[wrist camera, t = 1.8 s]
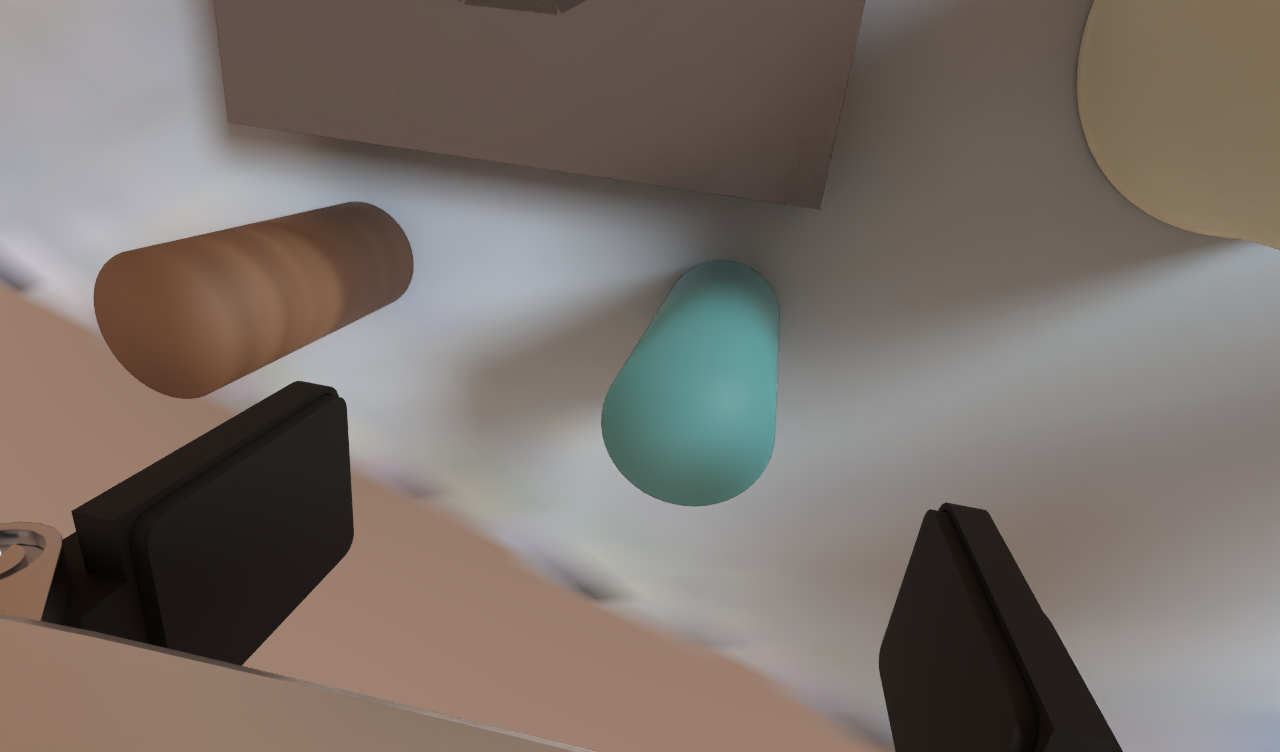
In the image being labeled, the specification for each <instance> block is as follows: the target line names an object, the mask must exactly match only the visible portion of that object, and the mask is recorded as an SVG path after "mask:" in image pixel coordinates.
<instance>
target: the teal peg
mask: <svg viewBox="0 0 1280 752" xmlns="http://www.w3.org/2000/svg"><path fill="white" fill-rule="evenodd" d="M778 341H779V307H778V302H777V299H776V296H775V294H774V292H773V290H772V288H771V287H770V285H769V284H768V283H767V281H766V280H765V279H764V278H763V277H762V276H761V275H760V274H758V273H757V272H756V271H754V270H753V269H751V268H749V267H747V266H745V265H742V264H740V263H736V262H732V261H712V262H707V263H704V264H701V265H698V266H696V267H694V268H692V269H691V270H689V271H688V272H686V273H685V274H684V275H683V276H682V277H681V278H680V279H679V280H678V281H677V282H676V284H675V285H674V287H673V288H672V290H671V291H670V293H669V295H668V296H667V298H666V299H665V301H664V303H663V304H662V306H661V307H660V309H659V310H658V312H657V314H656V315H655V317H654V318H653V320H652V322H651V323H650V325H649V326H648V328H647V330H646V331H645V333H644V334H643V336H642V338H641V339H640V341H639V342H638V344H637V346H636V347H635V349H634V350H633V352H632V354H631V355H630V357H629V358H628V360H627V361H626V363H625V365H624V366H623V368H622V369H621V371H620V373H619V374H618V376H617V377H616V379H615V381H614V382H613V384H612V385H611V387H610V389H609V391H608V393H607V395H606V398H605V401H604V404H603V410H602V421H601V425H602V435H603V439H604V443H605V446H606V448H607V451H608V453H609V455H610V457H611V459H612V461H613V463H614V464H615V465H616V467H617V468H618V470H619V471H620V472H621V473H622V474H623V475H624V477H625V478H626V479H627V480H628V481H630V482H631V483H632V484H633V485H634V486H636V487H637V488H638V489H640V490H641V491H643V492H644V493H646V494H648V495H650V496H652V497H654V498H657V499H659V500H662V501H664V502H668V503H672V504H677V505H683V506H706V505H712V504H717V503H720V502H723V501H726V500H729V499H731V498H733V497H735V496H737V495H739V494H740V493H742V492H743V491H745V490H746V489H748V488H749V487H750V486H751V485H752V484H753V483H754V482H755V481H756V480H757V479H758V478H759V477H760V476H761V474H762V473H763V471H764V470H765V468H766V466H767V464H768V462H769V460H770V458H771V454H772V451H773V447H774V440H775V420H776V394H777V367H778Z"/></svg>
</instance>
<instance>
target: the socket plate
mask: <svg viewBox="0 0 1280 752" xmlns="http://www.w3.org/2000/svg"><path fill="white" fill-rule="evenodd" d="M864 4H865V0H214V5H215V13H216V22H217V30H218V39H219V48H220V56H221V65H222V73H223V82H224V90H225V99H226V108H227V116H228V123H235V124H242V125H249V126H255V127H262V128H269V129H276V130H283V131H289V132H296V133H303V134H310V135H317V136H324V137H330V138H337V139H344V140H351V141H358V142H364V143H371V144H378V145H385V146H392V147H398V148H405V149H412V150H419V151H426V152H432V153H439V154H446V155H453V156H460V157H466V158H473V159H480V160H487V161H494V162H501V163H507V164H514V165H521V166H528V167H535V168H541V169H548V170H555V171H562V172H569V173H575V174H582V175H589V176H596V177H603V178H609V179H616V180H623V181H630V182H637V183H644V184H650V185H657V186H664V187H671V188H678V189H684V190H691V191H698V192H705V193H712V194H718V195H725V196H732V197H739V198H746V199H752V200H759V201H766V202H773V203H780V204H786V205H793V206H800V207H807V208H814V209H820V206H821V201H822V197H823V192H824V188H825V183H826V178H827V174H828V169H829V165H830V160H831V155H832V151H833V146H834V142H835V137H836V132H837V128H838V123H839V119H840V114H841V109H842V105H843V100H844V96H845V91H846V86H847V82H848V77H849V73H850V68H851V63H852V59H853V54H854V50H855V45H856V40H857V36H858V31H859V27H860V22H861V17H862V13H863V8H864Z"/></svg>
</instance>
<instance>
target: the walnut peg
mask: <svg viewBox="0 0 1280 752" xmlns="http://www.w3.org/2000/svg"><path fill="white" fill-rule="evenodd" d="M412 274H413V255H412V250H411V247H410V244H409V241H408V239H407V237H406V235H405V233H404V231H403V230H402V228H401V227H400V226H399V224H398V223H397V222H396V221H395V220H394V219H393V218H392V217H391V216H390V215H389V214H387V213H386V212H385V211H383V210H382V209H380V208H378V207H376V206H374V205H371V204H368V203H364V202H348V203H343V204H339V205H334V206H330V207H325V208H321V209H316V210H311V211H307V212H302V213H298V214H293V215H289V216H284V217H280V218H275V219H271V220H266V221H262V222H257V223H253V224H248V225H244V226H239V227H234V228H230V229H225V230H221V231H216V232H212V233H207V234H203V235H198V236H194V237H189V238H185V239H180V240H176V241H171V242H167V243H162V244H157V245H153V246H148V247H144V248H139V249H135V250H130V251H126V252H122V253H120V254H117V255H115V256H114V257H112V258H111V259H110V260H109V261H108V262H107V263H106V264H105V265H104V266H103V267H102V269H101V270H100V272H99V274H98V277H97V279H96V283H95V287H94V308H95V314H96V318H97V322H98V325H99V328H100V330H101V333H102V335H103V337H104V339H105V341H106V343H107V345H108V346H109V348H110V350H111V351H112V353H113V354H114V355H115V357H116V358H117V359H118V361H119V362H120V363H121V364H122V365H123V366H124V367H125V369H126V370H128V371H129V372H130V373H131V374H132V375H133V376H134V377H135V378H137V379H138V380H139V381H140V382H142V383H143V384H145V385H146V386H148V387H150V388H151V389H153V390H155V391H157V392H160V393H162V394H165V395H168V396H171V397H175V398H182V399H191V398H199V397H202V396H205V395H207V394H209V393H211V392H213V391H215V390H217V389H219V388H221V387H223V386H225V385H227V384H229V383H231V382H233V381H235V380H237V379H239V378H241V377H243V376H245V375H247V374H249V373H252V372H254V371H256V370H258V369H260V368H262V367H264V366H266V365H268V364H270V363H272V362H274V361H276V360H278V359H280V358H282V357H284V356H286V355H288V354H290V353H292V352H294V351H296V350H298V349H300V348H302V347H304V346H306V345H308V344H310V343H312V342H314V341H316V340H318V339H320V338H322V337H324V336H326V335H328V334H330V333H332V332H334V331H336V330H338V329H340V328H342V327H344V326H346V325H348V324H350V323H352V322H354V321H356V320H358V319H360V318H362V317H364V316H366V315H368V314H370V313H372V312H374V311H376V310H378V309H380V308H382V307H384V306H386V305H388V304H390V303H392V302H394V301H396V300H397V299H398V298H400V297H401V296H402V295H403V294H404V292H405V291H406V290H407V288H408V286H409V284H410V282H411V279H412Z"/></svg>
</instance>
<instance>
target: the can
mask: <svg viewBox="0 0 1280 752" xmlns="http://www.w3.org/2000/svg"><path fill="white" fill-rule="evenodd" d="M1077 100H1078V110H1079V116H1080V120H1081V124H1082V128H1083V132H1084V135H1085V137H1086V140H1087V143H1088V146H1089V149H1090V151H1091V153H1092V155H1093V157H1094V158H1095V160H1096V162H1097V164H1098V166H1099V167H1100V169H1101V170H1102V172H1103V173H1104V175H1105V176H1106V177H1107V179H1108V180H1109V181H1110V182H1111V184H1112V185H1113V186H1114V187H1115V188H1116V189H1117V190H1118V191H1119V192H1120V193H1121V194H1122V195H1123V196H1124V197H1125V198H1126V199H1128V200H1129V201H1130V202H1131V203H1132V204H1134V205H1135V206H1137V207H1138V208H1140V209H1141V210H1142V211H1144V212H1145V213H1147V214H1149V215H1151V216H1152V217H1154V218H1156V219H1158V220H1160V221H1162V222H1165V223H1167V224H1170V225H1172V226H1175V227H1177V228H1180V229H1183V230H1187V231H1190V232H1194V233H1198V234H1202V235H1208V236H1215V237H1223V238H1232V239H1243V240H1247V241H1251V242H1255V243H1258V244H1262V245H1265V246H1269V247H1272V248H1276V249H1279V250H1280V0H1094V1H1093V4H1092V7H1091V10H1090V12H1089V15H1088V18H1087V22H1086V25H1085V29H1084V32H1083V36H1082V41H1081V46H1080V51H1079V58H1078V68H1077Z"/></svg>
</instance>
